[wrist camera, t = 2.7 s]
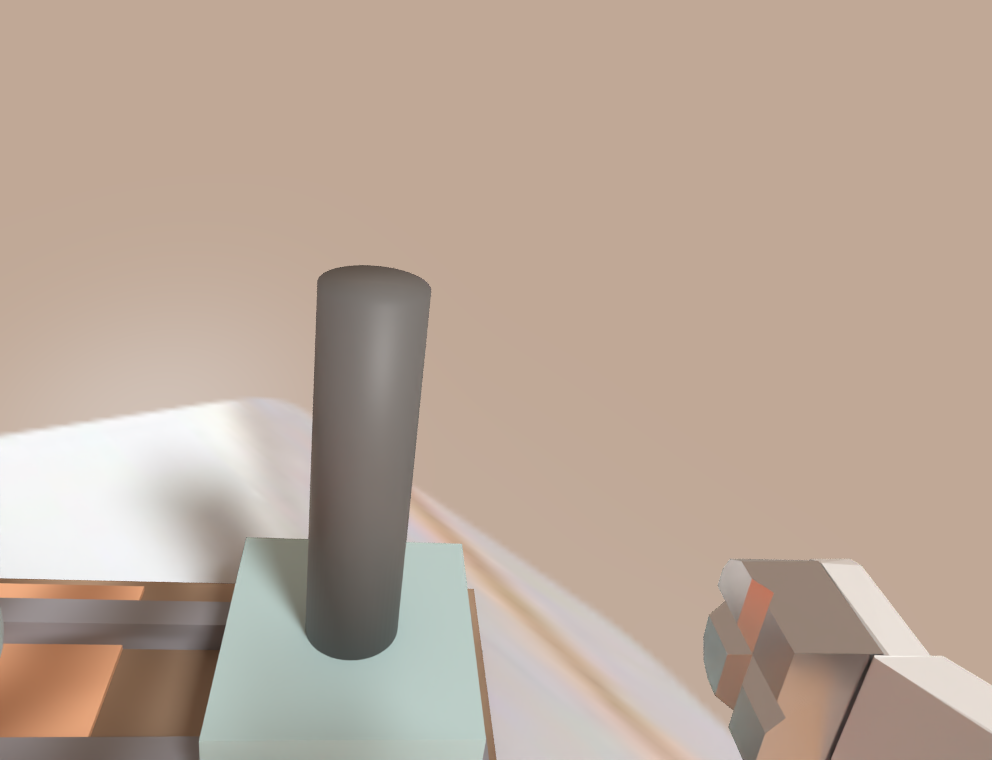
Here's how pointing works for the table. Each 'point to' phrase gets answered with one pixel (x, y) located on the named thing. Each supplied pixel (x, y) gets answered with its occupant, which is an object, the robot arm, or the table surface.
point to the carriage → (353, 569)
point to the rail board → (119, 668)
